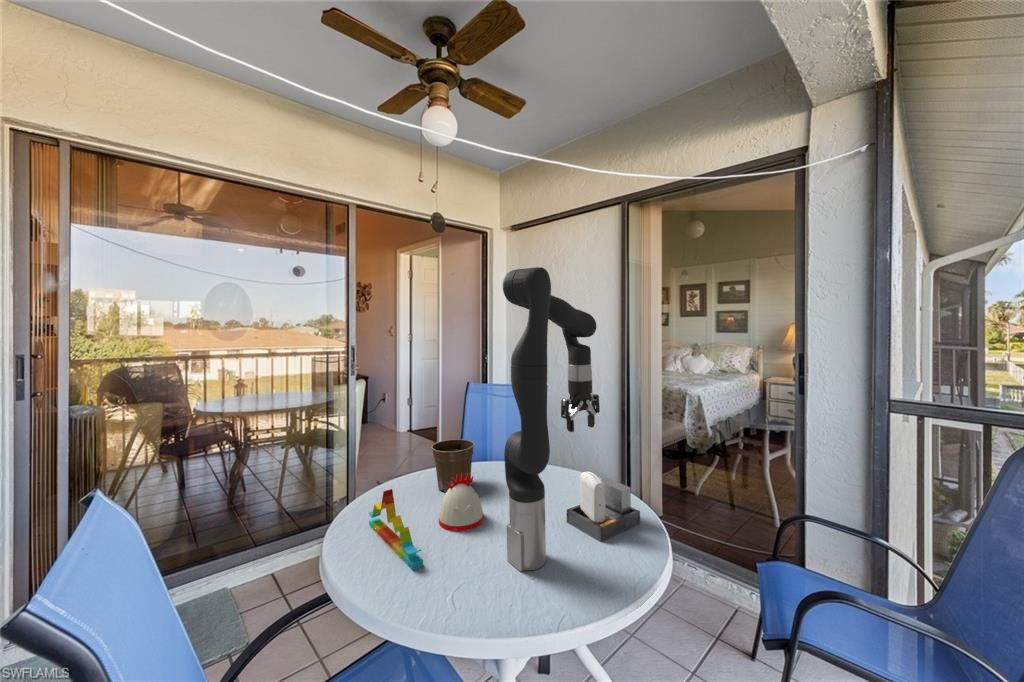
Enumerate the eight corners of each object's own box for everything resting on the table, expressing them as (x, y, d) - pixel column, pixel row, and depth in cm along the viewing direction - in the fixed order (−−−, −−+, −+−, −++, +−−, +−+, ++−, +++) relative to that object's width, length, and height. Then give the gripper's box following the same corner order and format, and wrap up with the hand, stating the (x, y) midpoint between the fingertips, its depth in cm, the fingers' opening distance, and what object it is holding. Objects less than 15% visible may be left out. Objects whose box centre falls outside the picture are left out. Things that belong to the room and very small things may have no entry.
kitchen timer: (487, 527, 124) (486, 478, 124) (441, 534, 120) (440, 484, 120) (478, 507, 138) (477, 463, 137) (436, 513, 134) (435, 468, 133)
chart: (424, 566, 105) (422, 509, 105) (412, 571, 103) (410, 513, 103) (379, 522, 129) (377, 476, 128) (369, 526, 127) (367, 478, 126)
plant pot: (430, 481, 161) (429, 441, 160) (470, 476, 165) (469, 436, 165) (435, 498, 145) (433, 453, 144) (479, 492, 150) (478, 448, 149)
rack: (600, 542, 114) (600, 503, 114) (566, 522, 126) (566, 487, 126) (640, 524, 124) (639, 488, 124) (605, 507, 136) (604, 474, 135)
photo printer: (607, 521, 118) (607, 479, 117) (594, 524, 117) (593, 481, 116) (590, 506, 128) (590, 467, 127) (578, 508, 126) (577, 469, 126)
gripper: (570, 382, 122) (572, 436, 123) (604, 377, 130) (605, 427, 131) (554, 379, 128) (556, 430, 129) (588, 374, 136) (589, 423, 137)
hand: (581, 429), depth 130 cm, fingers open, 8 cm apart
